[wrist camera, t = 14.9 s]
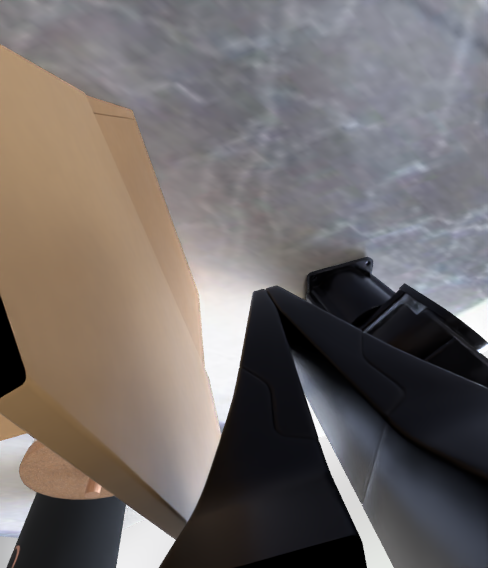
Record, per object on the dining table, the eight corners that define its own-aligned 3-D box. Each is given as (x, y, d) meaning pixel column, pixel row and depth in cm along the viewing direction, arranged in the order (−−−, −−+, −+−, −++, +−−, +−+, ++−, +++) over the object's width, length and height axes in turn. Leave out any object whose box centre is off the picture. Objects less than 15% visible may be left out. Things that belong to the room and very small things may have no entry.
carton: (132, 109, 15) (75, 90, 7) (198, 294, 23) (206, 381, 15) (-174, 176, 14) (-631, 239, 6) (7, 346, 22) (-93, 469, 14)
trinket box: (141, 425, 31) (126, 525, 23) (43, 405, 26) (-17, 524, 18) (189, 372, 28) (190, 468, 20) (88, 338, 23) (38, 448, 15)
